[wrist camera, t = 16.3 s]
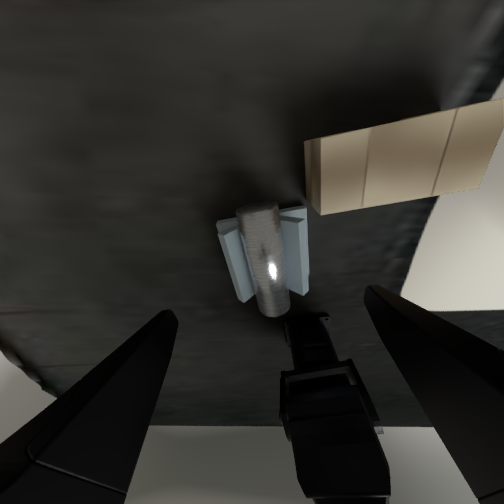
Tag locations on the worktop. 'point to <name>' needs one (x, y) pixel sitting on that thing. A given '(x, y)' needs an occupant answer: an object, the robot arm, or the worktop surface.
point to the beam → (403, 158)
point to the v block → (293, 250)
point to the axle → (265, 255)
